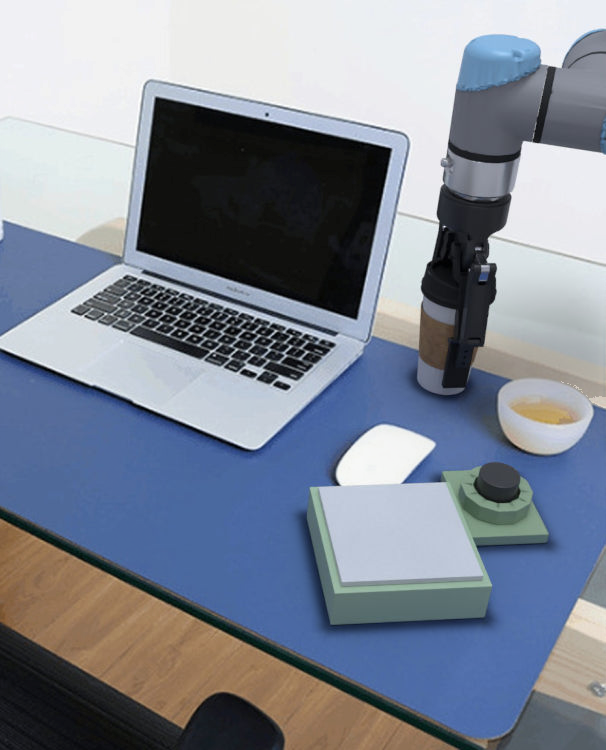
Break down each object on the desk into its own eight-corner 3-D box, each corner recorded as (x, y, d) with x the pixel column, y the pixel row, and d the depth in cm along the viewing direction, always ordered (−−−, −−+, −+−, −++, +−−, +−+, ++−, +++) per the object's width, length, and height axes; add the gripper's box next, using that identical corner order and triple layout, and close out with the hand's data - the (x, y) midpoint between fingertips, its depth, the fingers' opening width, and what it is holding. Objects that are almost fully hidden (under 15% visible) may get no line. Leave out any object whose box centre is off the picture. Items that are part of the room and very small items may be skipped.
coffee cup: (415, 355, 125) (433, 247, 117) (483, 371, 123) (506, 262, 114) (398, 390, 119) (415, 279, 110) (469, 408, 116) (492, 296, 108)
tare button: (509, 476, 102) (513, 460, 101) (522, 502, 99) (526, 487, 98) (471, 478, 102) (474, 462, 100) (482, 504, 98) (486, 488, 97)
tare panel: (513, 477, 106) (519, 454, 104) (546, 543, 98) (553, 520, 96) (440, 479, 105) (444, 457, 104) (467, 546, 97) (472, 523, 95)
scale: (443, 512, 101) (450, 477, 99) (484, 617, 90) (494, 581, 87) (306, 517, 100) (309, 482, 97) (330, 625, 88) (335, 588, 86)
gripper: (418, 151, 115) (394, 322, 127) (469, 231, 98) (435, 418, 111) (482, 151, 115) (451, 321, 128) (544, 230, 99) (501, 416, 111)
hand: (444, 366), depth 119 cm, fingers closed on coffee cup, 8 cm apart
